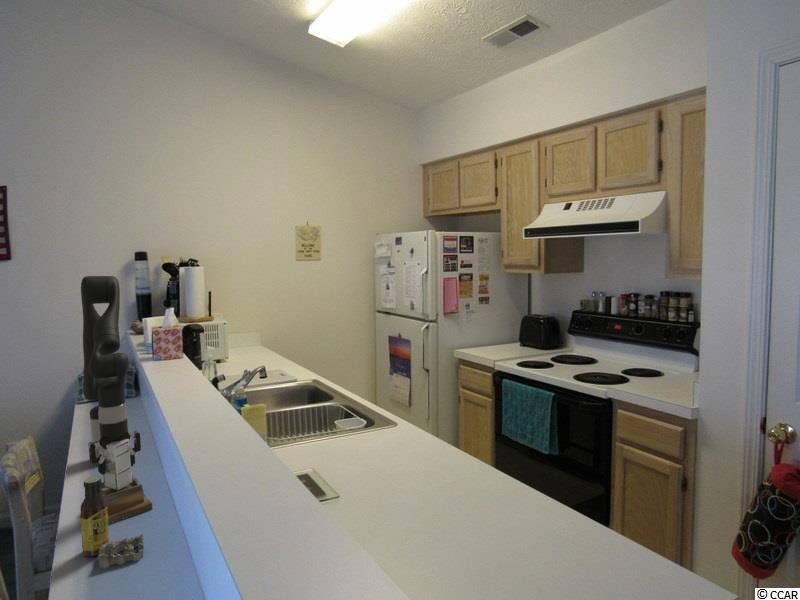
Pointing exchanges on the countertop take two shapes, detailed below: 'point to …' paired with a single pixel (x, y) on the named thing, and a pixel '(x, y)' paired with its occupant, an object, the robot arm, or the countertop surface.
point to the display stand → (125, 501)
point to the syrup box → (117, 465)
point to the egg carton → (117, 546)
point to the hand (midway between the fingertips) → (117, 469)
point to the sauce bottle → (93, 518)
